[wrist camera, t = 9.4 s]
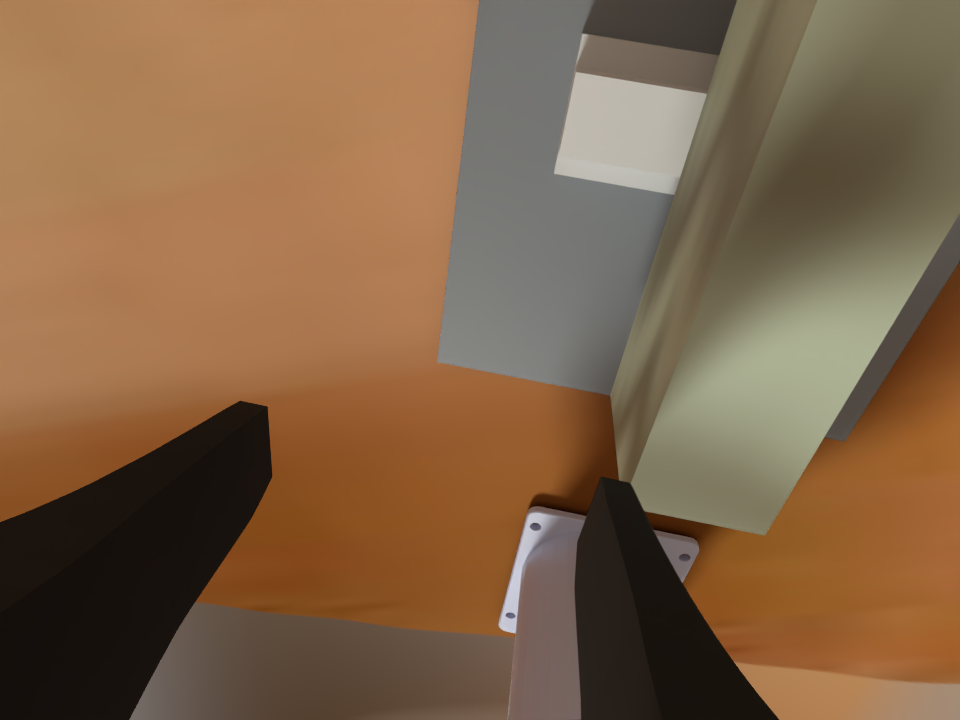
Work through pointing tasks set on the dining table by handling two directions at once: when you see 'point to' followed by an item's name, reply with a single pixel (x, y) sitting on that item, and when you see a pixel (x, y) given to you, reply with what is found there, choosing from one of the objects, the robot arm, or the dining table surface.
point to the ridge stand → (590, 187)
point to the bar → (787, 248)
